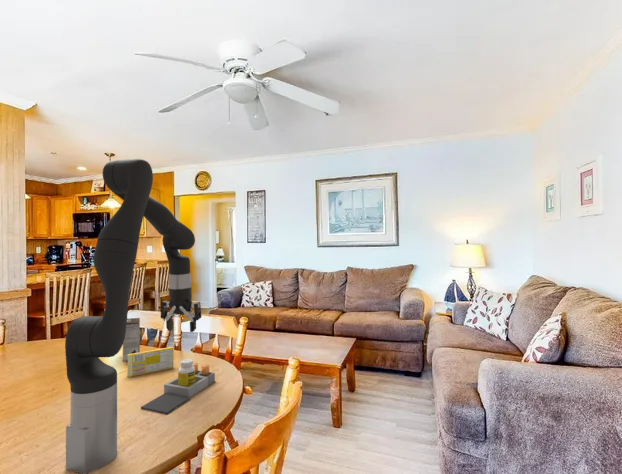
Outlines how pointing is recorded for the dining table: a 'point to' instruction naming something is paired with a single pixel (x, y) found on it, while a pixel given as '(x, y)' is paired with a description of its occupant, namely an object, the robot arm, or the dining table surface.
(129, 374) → the candy box
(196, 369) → the plunger
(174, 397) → the mat
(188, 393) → the frame
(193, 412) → the dining table surface
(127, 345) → the coffee box
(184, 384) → the supplement bottle
